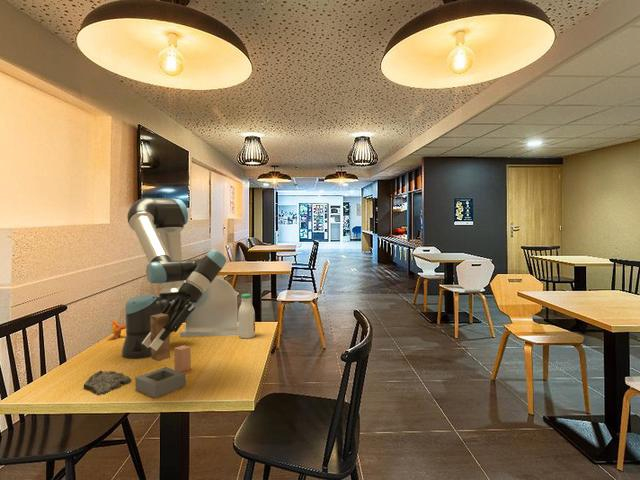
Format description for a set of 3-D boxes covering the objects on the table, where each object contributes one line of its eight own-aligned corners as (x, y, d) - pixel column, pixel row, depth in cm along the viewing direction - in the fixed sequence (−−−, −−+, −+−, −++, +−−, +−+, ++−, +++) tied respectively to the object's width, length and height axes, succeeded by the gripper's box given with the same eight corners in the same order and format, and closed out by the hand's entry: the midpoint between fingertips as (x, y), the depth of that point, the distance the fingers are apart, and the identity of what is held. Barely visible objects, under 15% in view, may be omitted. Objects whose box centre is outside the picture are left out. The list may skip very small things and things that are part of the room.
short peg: (174, 369, 142) (174, 348, 141) (184, 366, 145) (183, 345, 145) (181, 371, 139) (180, 350, 139) (190, 368, 143) (190, 347, 142)
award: (242, 330, 193) (241, 275, 192) (240, 335, 184) (239, 277, 183) (185, 331, 191) (183, 276, 190) (180, 337, 182) (178, 279, 181)
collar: (135, 389, 125) (135, 377, 125) (166, 378, 134) (165, 366, 134) (155, 398, 118) (154, 385, 118) (185, 385, 127) (185, 373, 127)
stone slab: (113, 373, 140) (112, 365, 140) (137, 384, 130) (136, 375, 130) (75, 385, 130) (74, 376, 130) (98, 398, 120) (97, 388, 120)
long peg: (151, 358, 125) (150, 315, 124) (162, 355, 128) (161, 313, 127) (158, 361, 122) (157, 317, 122) (170, 357, 126) (168, 314, 125)
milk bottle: (251, 339, 178) (250, 296, 177) (235, 338, 179) (235, 295, 178) (257, 334, 185) (256, 293, 184) (242, 333, 187) (241, 292, 186)
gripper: (215, 297, 131) (171, 358, 119) (187, 292, 142) (144, 347, 130) (201, 283, 126) (154, 346, 114) (173, 279, 137) (127, 336, 125)
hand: (149, 346), depth 122 cm, fingers closed on long peg, 4 cm apart
